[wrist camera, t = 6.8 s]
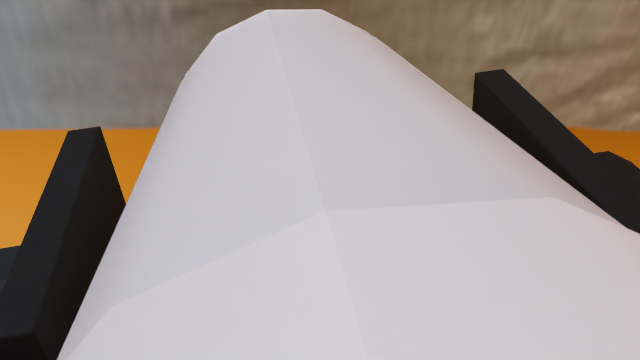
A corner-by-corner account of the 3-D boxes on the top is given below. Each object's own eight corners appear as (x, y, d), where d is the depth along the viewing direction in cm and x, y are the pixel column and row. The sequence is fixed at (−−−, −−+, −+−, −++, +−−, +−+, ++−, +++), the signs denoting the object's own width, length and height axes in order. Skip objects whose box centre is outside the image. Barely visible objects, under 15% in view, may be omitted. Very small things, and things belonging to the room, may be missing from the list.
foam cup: (221, 287, 20) (238, 886, 9) (39, 51, 14) (-452, 806, 4) (487, 170, 19) (865, 680, 8) (394, -128, 13) (1125, 186, 3)
